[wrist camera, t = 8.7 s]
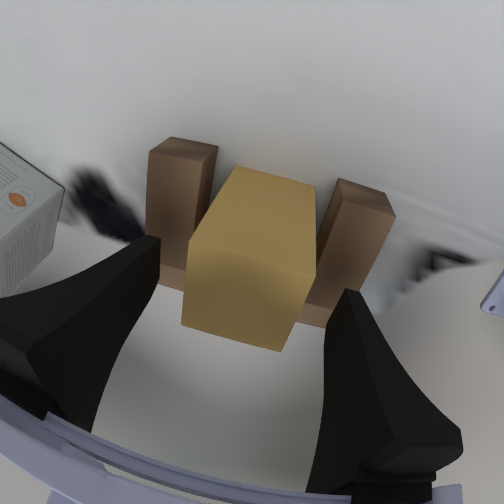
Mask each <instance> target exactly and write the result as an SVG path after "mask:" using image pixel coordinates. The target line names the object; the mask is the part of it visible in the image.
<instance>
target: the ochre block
mask: <svg viewBox="0 0 504 504" xmlns="http://www.w3.org/2000/svg"><path fill="white" fill-rule="evenodd" d="M315 277H316V209H315V187H314V186H311V185H307V184H304V183H300V182H297V181H293V180H290V179H286V178H283V177H279V176H275V175H272V174H268V173H264V172H260V171H256V170H253V169H249V168H245V167H241V166H237V165H236V166H235V168H234V169H233V171H232V172H231V174H230V175H229V177H228V179H227V180H226V182H225V183H224V185H223V187H222V188H221V190H220V191H219V193H218V195H217V196H216V198H215V199H214V201H213V203H212V204H211V206H210V207H209V209H208V211H207V212H206V214H205V216H204V217H203V219H202V221H201V222H200V224H199V225H198V227H197V229H196V230H195V232H194V234H193V236H192V237H191V239H190V241H189V246H188V255H187V264H186V274H185V284H184V295H183V307H182V318H181V325H183V326H186V327H190V328H193V329H196V330H200V331H203V332H207V333H210V334H214V335H217V336H221V337H224V338H228V339H232V340H235V341H239V342H242V343H247V344H250V345H254V346H258V347H262V348H266V349H270V350H274V351H278V352H281V351H282V349H283V347H284V345H285V342H286V340H287V338H288V336H289V334H290V332H291V330H292V328H293V325H294V323H295V321H296V319H297V317H298V315H299V313H300V310H301V308H302V306H303V304H304V302H305V299H306V297H307V295H308V293H309V290H310V288H311V286H312V284H313V281H314V279H315Z"/></svg>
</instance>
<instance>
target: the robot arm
mask: <svg viewBox="0 0 504 504" xmlns="http://www.w3.org/2000/svg"><path fill="white" fill-rule="evenodd" d="M160 254H161V238H159V237H155V236H152V235H148V234H146V235H145V236H143V237H141V238H139V239H138V240H136V241H134V242H133V243H131V244H130V245H128V246H126V247H125V248H123V249H121V250H120V251H118V252H116V253H115V254H113V255H111V256H110V257H108V258H106V259H104V260H102V261H101V262H99V263H97V264H95V265H93V266H91V267H90V268H88V269H86V270H84V271H82V272H80V273H78V274H76V275H73V276H71V277H69V278H66V279H64V280H62V281H59V282H56V283H53V284H51V285H48V286H45V287H42V288H40V289H36V290H33V291H30V292H26V293H22V294H18V295H14V296H9V297H3V298H0V455H1V456H2V457H3V458H5V459H6V460H8V461H9V462H10V463H12V464H13V465H14V466H16V467H17V468H19V469H20V470H22V471H23V472H25V473H26V474H28V475H29V476H31V477H32V478H34V479H36V480H37V481H39V482H40V483H42V484H44V485H45V486H47V487H49V488H50V489H52V492H51V494H50V496H49V499H48V501H47V503H46V504H208V503H204V502H201V501H197V500H193V499H190V498H186V497H182V496H179V495H175V494H172V493H169V492H166V491H162V490H159V489H156V488H153V487H151V486H148V485H145V484H142V483H140V482H137V481H134V480H131V479H128V478H125V477H123V476H118V475H115V474H112V473H110V472H108V471H107V470H106V469H105V468H104V465H103V463H101V462H99V461H97V460H100V461H102V462H104V463H106V464H109V465H111V466H113V467H116V468H118V469H120V470H123V471H125V472H128V473H131V474H133V475H136V476H138V477H141V478H144V479H146V480H149V481H152V482H155V483H158V484H161V485H164V486H167V487H170V488H174V489H177V490H180V491H184V492H187V493H191V494H194V495H198V496H202V497H206V498H210V499H214V500H219V501H223V502H228V503H232V504H463V500H462V486H461V484H454V485H447V486H440V487H436V488H432V482H433V481H435V480H436V471H438V470H440V469H441V468H443V467H445V466H447V465H449V464H450V463H452V462H453V461H455V460H457V459H458V458H459V457H460V456H461V454H462V453H463V443H462V436H461V431H460V428H459V427H457V426H456V425H455V424H454V423H453V422H452V421H451V420H449V419H448V418H447V417H446V416H445V415H444V414H442V412H441V411H440V410H439V409H437V407H436V406H435V405H434V404H433V403H432V402H431V401H430V400H429V399H428V398H427V397H426V396H425V395H424V394H423V392H422V391H421V390H420V389H419V387H418V386H417V385H416V384H415V383H414V382H413V380H412V379H411V378H410V376H409V375H408V374H407V372H406V371H405V369H404V368H403V366H402V365H401V364H400V362H399V361H398V359H397V358H396V356H395V355H394V353H393V351H392V350H391V348H390V346H389V345H388V343H387V341H386V340H385V338H384V336H383V334H382V333H381V331H380V329H379V327H378V325H377V323H376V322H375V320H374V318H373V316H372V314H371V312H370V310H369V308H368V306H367V304H366V302H365V300H364V299H363V297H362V295H361V293H360V292H359V291H355V290H351V289H348V288H345V289H344V291H343V293H342V295H341V297H340V299H339V301H338V303H337V305H336V307H335V308H334V310H333V312H332V314H331V316H330V318H329V320H328V321H327V323H326V331H325V340H324V400H323V410H322V417H321V424H320V430H319V436H318V442H317V447H316V452H315V456H314V460H313V465H312V469H311V473H310V476H309V480H308V484H307V488H306V491H305V493H302V492H294V491H286V490H279V489H272V488H266V487H260V486H254V485H249V484H244V483H239V482H233V481H230V480H225V479H221V478H217V477H212V476H209V475H205V474H201V473H197V472H194V471H190V470H187V469H183V468H180V467H177V466H173V465H170V464H167V463H164V462H161V461H158V460H155V459H153V458H150V457H147V456H144V455H141V454H139V453H136V452H134V451H131V450H128V449H126V448H123V447H121V446H119V445H116V444H114V443H111V442H109V441H107V440H104V439H102V438H100V437H98V436H96V435H94V434H91V430H92V426H93V423H94V420H95V416H96V413H97V409H98V406H99V403H100V400H101V397H102V394H103V392H104V389H105V386H106V383H107V381H108V378H109V375H110V373H111V370H112V368H113V366H114V363H115V361H116V359H117V356H118V354H119V352H120V350H121V348H122V345H123V344H124V342H125V340H126V338H127V337H128V335H129V333H130V332H131V330H132V328H133V327H134V325H135V323H136V322H137V320H138V319H139V317H140V315H141V314H142V312H143V310H144V308H145V307H146V306H147V304H148V302H149V301H150V299H151V297H152V294H153V292H154V290H155V288H156V286H157V283H158V281H159V279H160ZM480 307H481V310H482V311H483V312H486V313H490V314H493V315H497V316H501V317H504V270H503V272H502V273H501V275H500V276H499V278H498V279H497V281H496V282H495V284H494V285H493V287H492V288H491V290H490V291H489V292H488V294H487V295H486V297H485V298H484V299H483V301H482V302H481V304H480ZM90 456H91V457H90ZM92 457H93V458H92ZM94 458H95V459H94ZM96 459H97V460H96Z"/></svg>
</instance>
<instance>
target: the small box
mask: <svg viewBox="0 0 504 504" xmlns="http://www.w3.org/2000/svg"><path fill="white" fill-rule="evenodd" d="M63 192H64V189H63V188H62V187H61V186H59V185H58V184H56V183H55V182H53V181H52V180H50V179H49V178H47V177H46V176H44V175H43V174H42V173H40V172H39V171H37V170H36V169H35V168H33V167H32V166H30V165H29V164H28V163H26V162H25V161H23V160H22V159H20V158H19V157H18V156H16V155H15V154H13V153H12V152H11V151H9V150H8V149H7V148H5V147H4V146H2V145H1V144H0V298H3V297H9V296H11V295H12V294H13V293H14V291H16V290H17V288H18V287H19V286H20V285H21V284H22V283H23V281H24V280H25V279H26V278H27V277H28V275H30V273H31V272H32V271H33V270H34V269H35V268H36V267H37V266H38V265H39V264H40V262H41V261H42V260H43V259H44V258H45V257H46V256H47V255H48V254H49V253H50V252H51V251H52V248H53V242H54V237H55V231H56V226H57V221H58V216H59V211H60V206H61V201H62V197H63Z"/></svg>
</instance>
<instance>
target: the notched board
mask: <svg viewBox="0 0 504 504" xmlns="http://www.w3.org/2000/svg"><path fill="white" fill-rule="evenodd" d="M217 150H218V146H214V145H210V144H205V143H200V142H195V141H190V140H185V139H180V138H175V137H170V138H168V139H167V140H165V141H164V142H162V143H161V144H159V145H158V146H156V147H155V148H153V149H152V150H151V151H149V158H148V173H147V193H146V223H145V235H146V234H148V235H152V236H155V237H159V238H161V254H160V279H159V281H158V283H157V284H160V285H163V286H167V287H170V288H174V289H177V290H180V291H184V284H185V274H186V264H187V255H188V246H189V241H190V239H191V237H192V236H193V234H194V232H195V230H196V229H197V227H198V225H199V224H200V222H201V221H202V219H203V217H204V216H205V214H206V212H207V211H208V205H209V199H210V193H211V186H212V180H213V174H214V168H215V162H216V156H217ZM395 218H396V216H395V213H394V211H393V209H392V207H391V205H390V203H389V201H388V199H387V197H386V194H385V193H383V192H380V191H377V190H374V189H371V188H368V187H365V186H362V185H359V184H356V183H353V182H349V181H346V180H343V179H340V178H339V179H338V181H337V184H336V187H335V190H334V193H333V196H332V198H331V201H330V204H329V207H328V210H327V212H326V215H325V218H324V221H323V223H322V226H321V229H320V231H319V234H318V237H317V239H316V277H315V279H314V281H313V284H312V286H311V288H310V290H309V293H308V295H307V297H306V299H305V302H304V304H303V306H302V308H301V310H300V313H299V315H298V317H297V319H296V321H295V322H300V323H304V324H308V325H312V326H316V327H321V328H325V329H326V323H327V321H328V320H329V318H330V316H331V314H332V312H333V310H334V308H335V307H336V305H337V303H338V301H339V299H340V297H341V295H342V293H343V291H344V289H345V288H348V289H351V290H355V291H359V290H360V288H361V286H362V284H363V282H364V280H365V278H366V277H367V275H368V273H369V271H370V269H371V267H372V265H373V263H374V261H375V259H376V257H377V255H378V253H379V251H380V249H381V247H382V245H383V243H384V241H385V239H386V237H387V235H388V233H389V231H390V229H391V227H392V224H393V222H394V220H395Z"/></svg>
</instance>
